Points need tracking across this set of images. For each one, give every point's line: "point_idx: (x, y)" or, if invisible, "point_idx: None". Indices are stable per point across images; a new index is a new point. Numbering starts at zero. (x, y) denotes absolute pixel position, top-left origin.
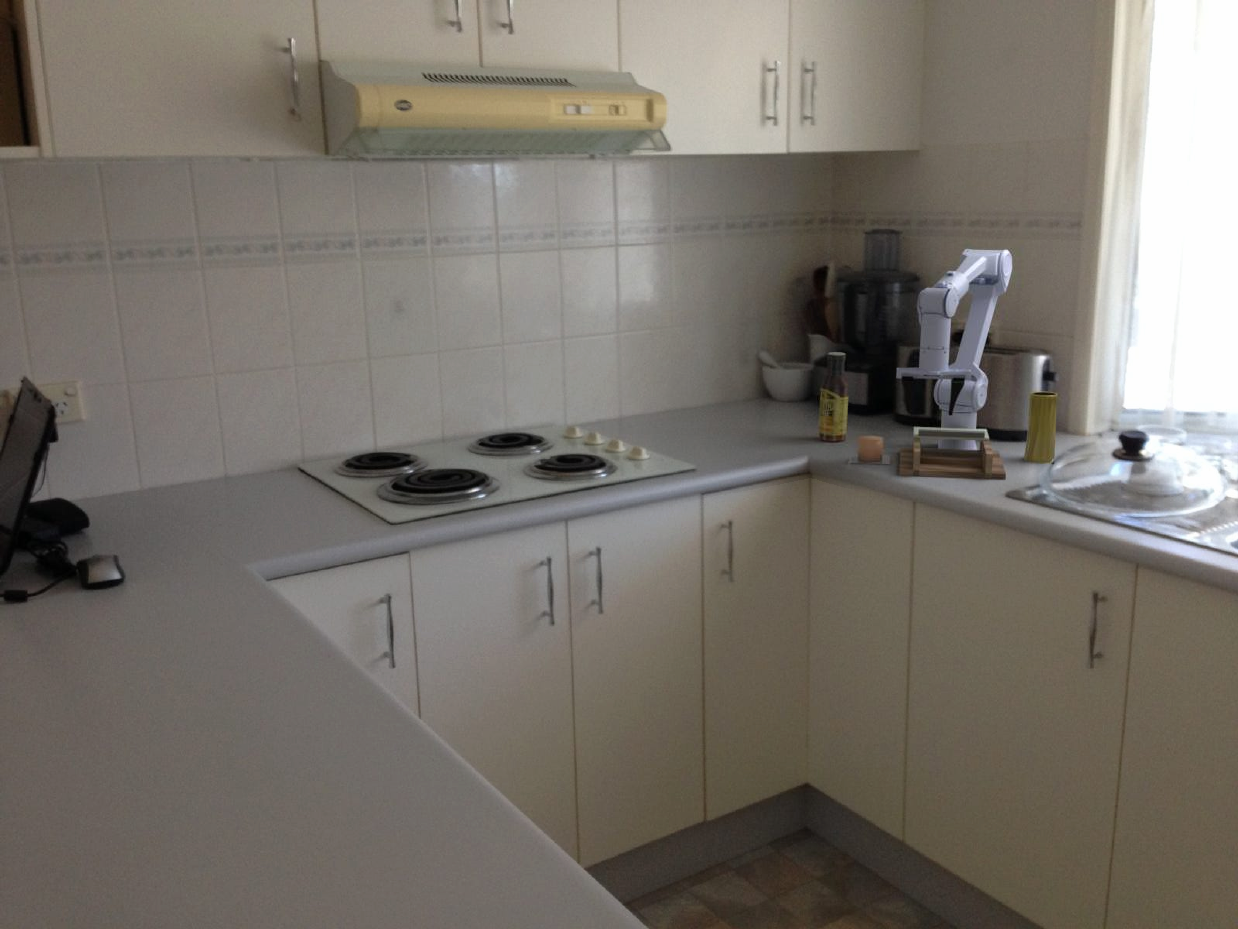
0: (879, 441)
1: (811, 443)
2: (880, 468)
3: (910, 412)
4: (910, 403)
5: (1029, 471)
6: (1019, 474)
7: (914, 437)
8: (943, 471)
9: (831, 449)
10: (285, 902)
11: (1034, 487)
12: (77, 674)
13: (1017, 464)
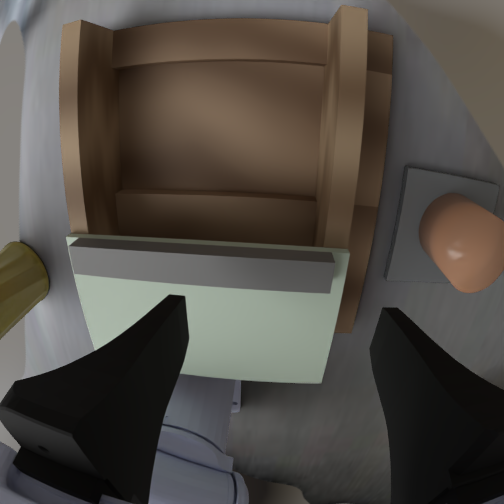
0: (464, 223)
1: (492, 372)
2: (431, 149)
3: (400, 311)
4: (423, 337)
5: (27, 171)
6: (43, 133)
7: (346, 249)
8: (244, 18)
9: (482, 338)
10: None
11: (29, 17)
12: None
13: (53, 239)
